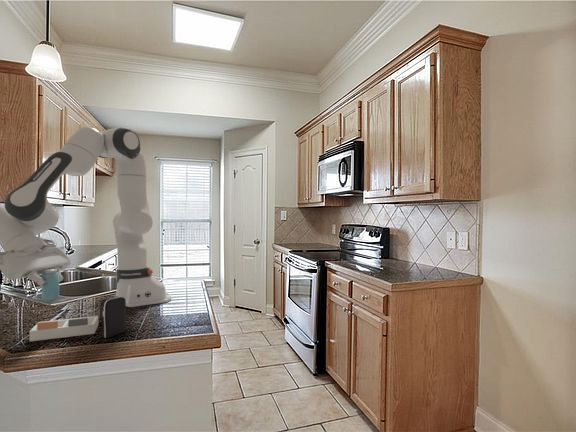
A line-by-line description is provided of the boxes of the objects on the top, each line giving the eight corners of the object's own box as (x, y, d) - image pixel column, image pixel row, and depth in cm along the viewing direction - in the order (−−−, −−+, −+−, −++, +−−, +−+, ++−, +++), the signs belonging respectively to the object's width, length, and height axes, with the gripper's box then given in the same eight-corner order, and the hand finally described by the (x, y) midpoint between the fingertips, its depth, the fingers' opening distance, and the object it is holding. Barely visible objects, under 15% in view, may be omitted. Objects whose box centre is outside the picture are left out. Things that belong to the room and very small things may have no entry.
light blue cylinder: (60, 297, 107) (60, 268, 107) (57, 300, 103) (57, 270, 103) (44, 298, 105) (44, 269, 105) (39, 301, 101) (39, 271, 101)
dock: (98, 324, 113) (98, 309, 113) (94, 333, 104) (94, 317, 104) (38, 331, 106) (38, 315, 106) (29, 341, 98) (29, 324, 98)
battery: (118, 330, 108) (117, 294, 108) (126, 331, 106) (126, 295, 106) (97, 337, 101) (97, 299, 101) (106, 339, 100) (106, 300, 100)
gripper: (-3, 245, 95) (26, 281, 93) (59, 240, 115) (84, 269, 113) (-16, 261, 96) (13, 297, 94) (48, 253, 116) (72, 282, 114)
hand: (52, 282), depth 104 cm, fingers closed on light blue cylinder, 4 cm apart
